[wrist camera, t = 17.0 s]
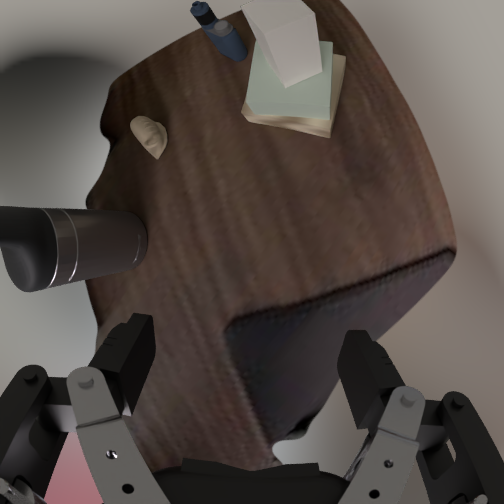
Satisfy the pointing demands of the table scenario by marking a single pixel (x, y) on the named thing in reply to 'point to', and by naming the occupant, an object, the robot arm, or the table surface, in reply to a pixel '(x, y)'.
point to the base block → (301, 123)
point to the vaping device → (219, 32)
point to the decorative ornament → (150, 135)
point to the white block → (286, 37)
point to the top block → (291, 89)
